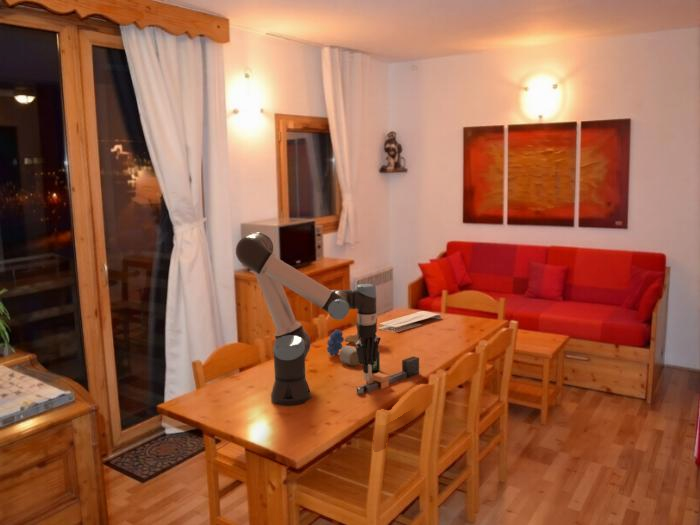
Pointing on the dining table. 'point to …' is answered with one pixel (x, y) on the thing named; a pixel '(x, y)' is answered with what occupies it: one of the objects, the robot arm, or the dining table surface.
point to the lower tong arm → (411, 370)
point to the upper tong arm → (362, 388)
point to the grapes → (335, 342)
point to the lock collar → (380, 379)
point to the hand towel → (407, 321)
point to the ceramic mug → (349, 356)
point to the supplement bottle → (376, 364)
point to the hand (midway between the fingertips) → (368, 379)
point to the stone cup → (354, 337)
